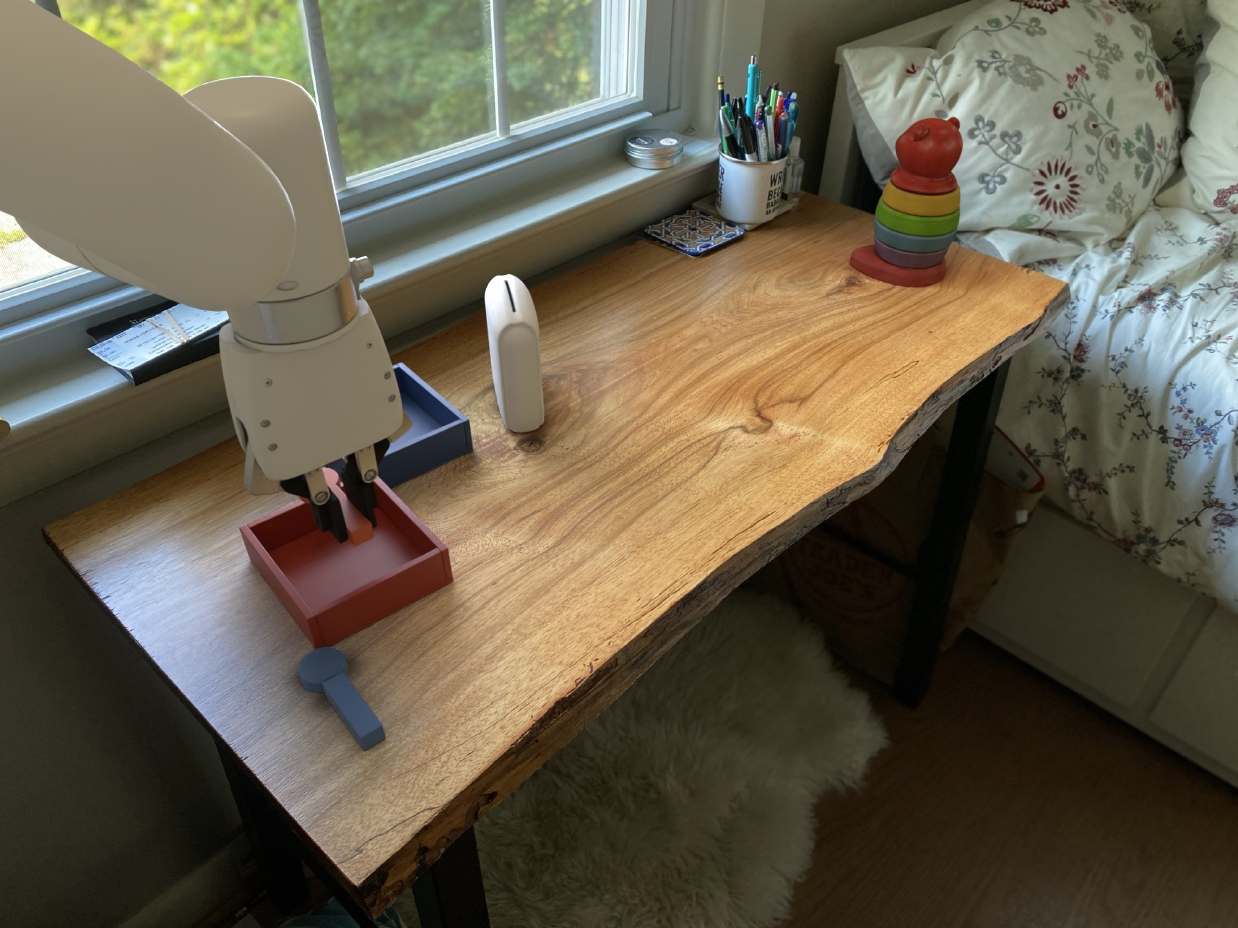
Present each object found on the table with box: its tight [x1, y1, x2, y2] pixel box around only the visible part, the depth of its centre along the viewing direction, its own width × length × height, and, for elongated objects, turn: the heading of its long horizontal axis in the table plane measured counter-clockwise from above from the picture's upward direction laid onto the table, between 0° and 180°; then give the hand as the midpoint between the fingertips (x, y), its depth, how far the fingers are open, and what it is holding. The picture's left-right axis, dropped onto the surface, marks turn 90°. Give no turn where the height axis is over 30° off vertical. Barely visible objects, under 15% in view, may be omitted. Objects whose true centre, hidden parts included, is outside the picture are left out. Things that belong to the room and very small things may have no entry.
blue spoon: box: [297, 646, 387, 751], centre depth 62 cm, size 9×3×1 cm, turn 39°
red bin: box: [238, 476, 454, 650], centre depth 71 cm, size 11×12×4 cm
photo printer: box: [484, 273, 545, 433], centre depth 86 cm, size 10×4×12 cm, turn 13°
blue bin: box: [326, 362, 474, 489], centre depth 84 cm, size 11×12×4 cm
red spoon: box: [297, 467, 374, 547], centre depth 68 cm, size 9×3×1 cm, turn 39°
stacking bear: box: [849, 116, 964, 287], centre depth 107 cm, size 11×10×18 cm
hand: (349, 523), depth 67 cm, fingers closed on red spoon, 1 cm apart
